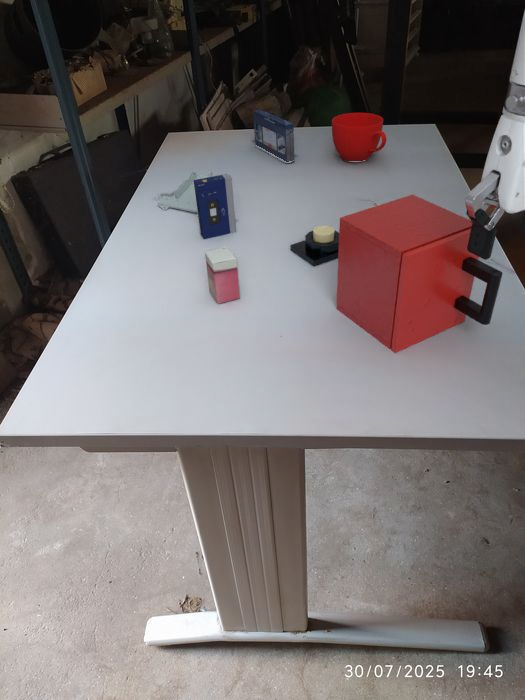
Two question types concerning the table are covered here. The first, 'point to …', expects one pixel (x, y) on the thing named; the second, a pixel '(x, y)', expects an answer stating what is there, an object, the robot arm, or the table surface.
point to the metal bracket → (183, 195)
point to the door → (440, 290)
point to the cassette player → (215, 205)
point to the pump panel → (316, 249)
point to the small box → (222, 274)
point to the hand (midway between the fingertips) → (505, 244)
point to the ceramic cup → (357, 135)
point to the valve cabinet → (385, 257)
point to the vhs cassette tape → (274, 135)
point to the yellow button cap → (323, 234)
